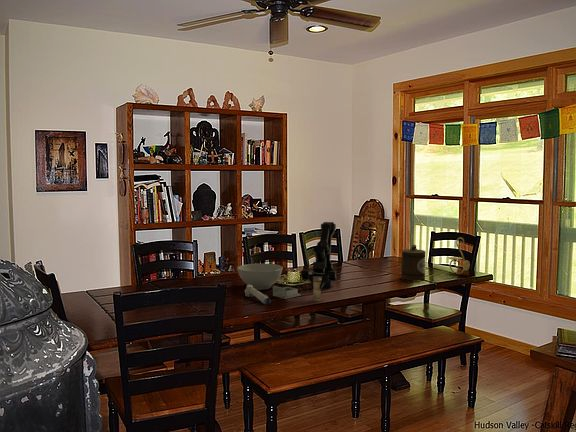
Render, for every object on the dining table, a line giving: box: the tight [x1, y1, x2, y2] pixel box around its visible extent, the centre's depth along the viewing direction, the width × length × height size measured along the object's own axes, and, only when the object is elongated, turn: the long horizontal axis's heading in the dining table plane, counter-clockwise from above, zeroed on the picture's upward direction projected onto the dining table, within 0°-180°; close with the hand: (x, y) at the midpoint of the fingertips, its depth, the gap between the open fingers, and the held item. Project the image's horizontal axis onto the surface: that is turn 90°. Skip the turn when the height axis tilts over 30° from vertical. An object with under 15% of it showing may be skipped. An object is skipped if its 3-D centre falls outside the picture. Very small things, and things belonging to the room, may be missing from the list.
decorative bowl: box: [237, 263, 284, 291], centre depth 301 cm, size 27×27×12 cm
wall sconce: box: [447, 237, 471, 275], centre depth 340 cm, size 14×10×25 cm
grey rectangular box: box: [272, 285, 302, 300], centre depth 281 cm, size 12×10×6 cm
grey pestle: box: [244, 284, 272, 305], centre depth 272 cm, size 5×7×25 cm
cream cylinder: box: [312, 277, 322, 302], centre depth 270 cm, size 4×4×12 cm
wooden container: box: [401, 244, 427, 281], centre depth 326 cm, size 15×15×22 cm
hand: (316, 288), depth 269 cm, fingers closed on cream cylinder, 4 cm apart
